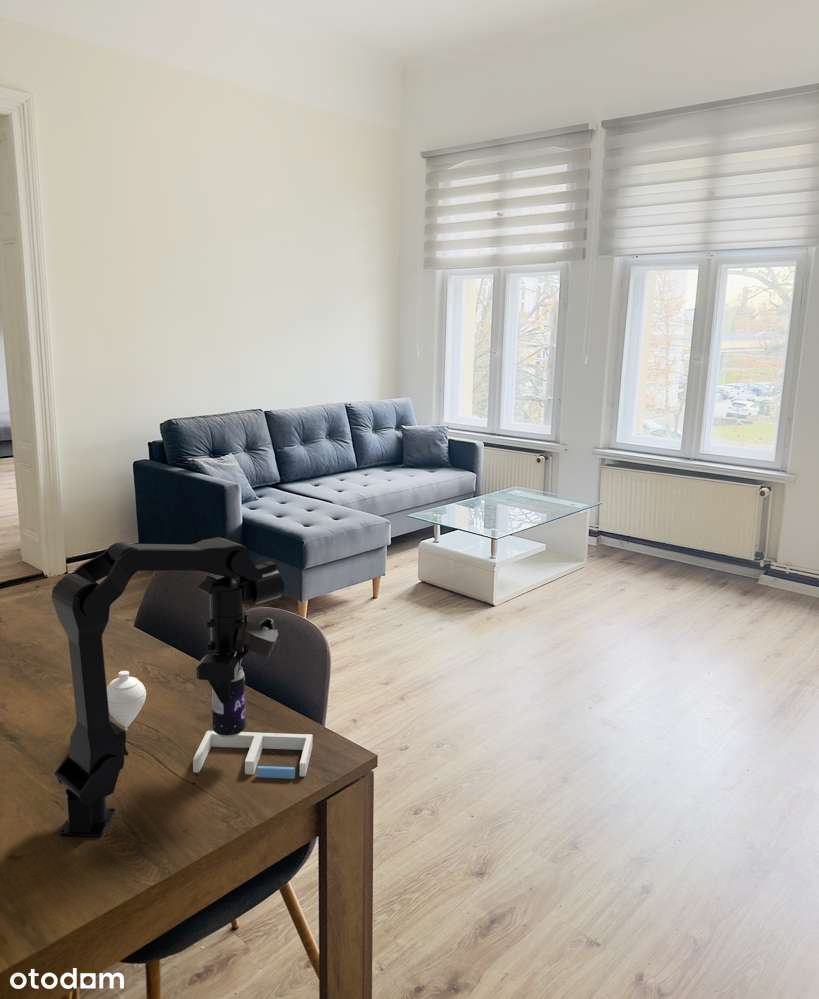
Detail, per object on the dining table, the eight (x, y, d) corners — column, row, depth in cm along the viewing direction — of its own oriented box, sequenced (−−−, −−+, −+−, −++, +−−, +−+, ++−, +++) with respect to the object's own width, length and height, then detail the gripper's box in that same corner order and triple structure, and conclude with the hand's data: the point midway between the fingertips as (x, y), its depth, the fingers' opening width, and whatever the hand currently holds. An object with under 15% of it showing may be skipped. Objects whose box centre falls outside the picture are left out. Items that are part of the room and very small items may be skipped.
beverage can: (237, 741, 138) (236, 678, 135) (207, 737, 139) (205, 674, 136) (250, 726, 143) (249, 664, 140) (221, 721, 144) (220, 660, 141)
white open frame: (304, 779, 137) (304, 766, 136) (192, 774, 137) (191, 761, 136) (312, 746, 147) (312, 734, 147) (207, 742, 147) (207, 730, 147)
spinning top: (102, 743, 146) (99, 683, 143) (106, 722, 153) (103, 665, 150) (146, 738, 148) (144, 679, 145) (148, 718, 155) (146, 661, 152)
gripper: (264, 634, 127) (264, 723, 130) (283, 594, 145) (282, 673, 148) (194, 632, 127) (196, 720, 130) (222, 592, 145) (223, 671, 148)
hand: (228, 694), depth 139 cm, fingers closed on beverage can, 6 cm apart
